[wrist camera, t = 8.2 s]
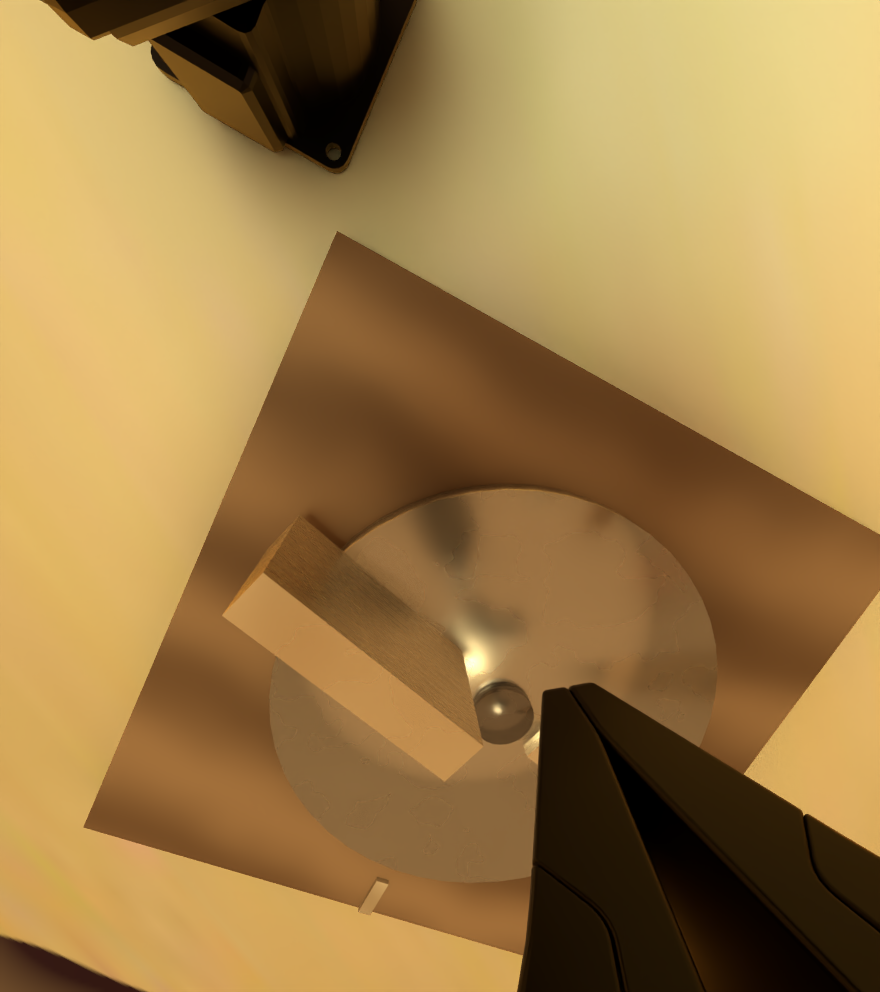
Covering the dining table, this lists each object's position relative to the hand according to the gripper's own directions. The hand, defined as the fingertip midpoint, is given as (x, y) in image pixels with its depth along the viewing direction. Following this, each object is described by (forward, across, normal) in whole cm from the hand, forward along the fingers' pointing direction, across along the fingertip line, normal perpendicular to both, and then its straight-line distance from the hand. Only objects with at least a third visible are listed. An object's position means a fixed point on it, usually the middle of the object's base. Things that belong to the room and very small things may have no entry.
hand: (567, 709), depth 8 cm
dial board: (+13, 0, +8) cm, 15 cm away
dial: (+11, 0, +8) cm, 14 cm away
